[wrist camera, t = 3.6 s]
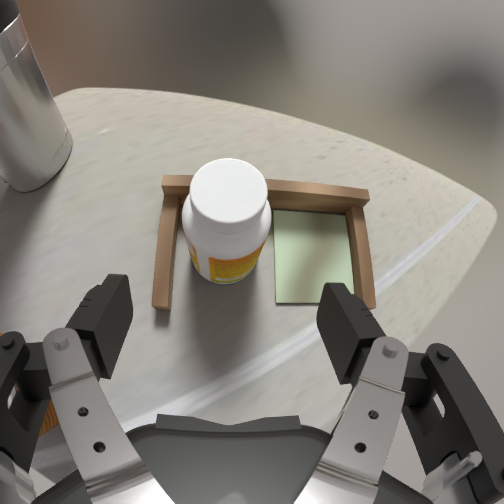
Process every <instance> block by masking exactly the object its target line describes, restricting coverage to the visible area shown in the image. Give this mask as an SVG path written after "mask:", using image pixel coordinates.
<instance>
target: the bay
mask: <svg viewBox="0 0 504 504" xmlns="http://www.w3.org/2000/svg"><path fill="white" fill-rule="evenodd" d="M193 177H194V175H163V180H162V185H161V186H162V189H163V193H164V200H163V206H162V213H161V220H160V227H159V235H158V243H157V252H156V261H155V271H154V281H153V293H152V306H153V307H154V308H155V309H164V310H171V298H172V283H173V270H174V258H175V247H176V237H177V228H178V219H179V210H180V204H184V202H185V200H186V198H187V196H188V195H189V193H190V184H191V181H192V179H193ZM265 181H266V184H267V189H268V195H267V200H268V202H269V205H270V208H277V209H292V210H305V211H318V212H330V213H342V214H345V216H344V215H332V214H320V213H307V212H293V211H278V210H273V224H274V256H275V297H276V303H320V299H321V295H322V291H323V287H324V284H325V283H327V282H338V283H344V284H345V285H346V287H347V288H348V290H349V291H350V293H351V294H355V295H356V296H358V297H359V298H360V299H362V300H363V301H364V303H365V304H366V306H367V307H368V310H371V309H374V308H376V300H375V289H374V280H373V271H372V263H371V255H370V248H369V241H368V235H367V229H366V223H365V217H364V211H363V207H364V206H365V205H366V204H367V202H368V201H369V200H370V197H369V192H368V190H366V189H358V188H351V187H343V186H335V185H326V184H317V183H307V182H297V181H285V180H273V179H265Z"/></svg>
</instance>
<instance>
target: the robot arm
mask: <svg viewBox="0 0 504 504" xmlns="http://www.w3.org/2000/svg"><path fill="white" fill-rule="evenodd" d="M71 148H72V136H71V134H70V132H69V130H68V128H67V126H66V124H65V122H64V120H63V118H62V116H61V114H60V112H59V110H58V108H57V106H56V103H55V101H54V99H53V97H52V95H51V93H50V91H49V88H48V86H47V84H46V82H45V79H44V77H43V75H42V72H41V70H40V68H39V65H38V63H37V60H36V58H35V55H34V53H33V50H32V48H31V45H30V42H29V39H28V37H27V34H26V31H25V29H24V26H23V23H22V20H21V16H20V14H19V10H18V7H17V4H16V1H15V0H0V178H1V179H2V180H3V181H4V182H5V183H9V184H10V185H11V186H12V187H13V188H14V189H16V190H17V191H20V192H29V191H32V190H35V189H37V188H39V187H41V186H42V185H44V184H45V183H47V182H48V181H49V180H50V179H51V178H52V177H54V176H55V175H56V174H57V172H58V171H59V170H60V169H61V168H62V166H63V165H64V163H65V162H66V160H67V158H68V156H69V154H70V151H71ZM132 318H133V305H132V299H131V293H130V286H129V280H128V276H127V275H122V274H108V276H107V277H106V279H105V280H104V282H103V283H102V285H96V286H95V287H94V288H92V289H91V290H89V291H88V293H87V294H86V295H85V297H84V298H83V301H82V302H81V303H80V305H79V307H78V308H77V309H76V311H75V312H74V314H73V315H72V317H71V319H70V320H69V322H68V323H67V325H66V327H65V328H59V329H56V330H53V331H51V332H50V333H49V334H48V335H47V336H46V337H45V338H44V340H43V342H37V343H26V341H25V339H24V337H23V335H22V334H21V333H19V332H15V331H12V332H7V333H5V334H3V335H1V336H0V504H494V503H496V502H498V501H499V500H501V499H502V498H504V433H503V431H502V429H501V427H500V425H499V423H498V422H497V419H496V418H495V416H494V414H493V412H492V411H491V409H490V407H489V405H488V404H487V402H486V400H485V399H484V397H483V395H482V394H481V392H480V391H479V389H478V387H477V386H476V384H475V382H474V381H473V379H472V378H471V376H470V375H469V373H468V372H467V370H466V369H465V367H464V366H463V364H462V363H461V361H460V360H459V358H458V357H457V355H456V354H455V353H454V351H453V350H452V349H451V348H449V347H448V346H446V345H443V344H440V343H434V344H431V345H430V346H429V347H428V348H427V350H426V352H425V354H424V353H415V352H408V349H407V347H406V346H405V345H404V344H403V343H402V342H401V341H399V340H397V339H395V338H392V337H387V336H386V335H385V333H384V332H383V330H382V329H381V327H380V325H379V324H378V322H377V321H376V319H375V318H374V317H373V315H372V313H371V312H370V310H368V307H367V306H366V304H365V303H364V301H363V300H362V299H360V298H359V297H358V296H356V295H355V294H351V293H350V291H349V290H348V288H347V287H346V285H345V284H344V283H338V282H327V283H325V284H324V287H323V291H322V295H321V299H320V303H319V307H318V311H317V319H316V320H317V327H318V330H319V332H320V335H321V337H322V340H323V342H324V345H325V347H326V350H327V352H328V355H329V357H330V360H331V362H332V365H333V367H334V370H335V373H336V375H337V378H338V380H339V383H340V385H341V384H349V383H351V385H352V389H351V391H350V393H349V395H348V397H347V399H346V402H345V404H344V406H343V408H342V410H341V412H340V414H339V416H338V418H337V420H336V422H335V424H334V426H333V428H332V429H331V431H330V433H327V432H325V431H323V430H320V429H317V428H314V427H311V426H306V425H301V424H300V420H299V416H298V415H297V416H284V417H266V418H261V419H257V420H253V421H249V422H244V423H240V424H235V425H222V424H218V423H214V422H210V421H206V420H202V419H198V418H194V417H187V416H174V415H164V414H157V420H156V423H154V424H148V425H143V426H140V427H137V428H134V429H132V430H130V431H128V432H126V433H125V432H124V431H123V429H122V427H121V425H120V424H119V422H118V420H117V418H116V417H115V415H114V413H113V411H112V409H111V407H110V405H109V403H108V401H107V399H106V397H105V395H104V393H103V391H102V389H101V387H100V385H99V380H100V378H105V379H111V376H112V373H113V371H114V368H115V365H116V362H117V359H118V356H119V354H120V351H121V348H122V345H123V343H124V340H125V337H126V335H127V332H128V330H129V327H130V324H131V322H132ZM14 385H15V387H16V388H17V391H16V393H15V396H14V398H13V400H12V403H11V405H10V407H9V409H8V399H9V396H10V394H11V392H12V390H13V387H14ZM436 394H438V396H439V398H440V399H441V401H442V403H443V405H444V408H445V414H444V417H442V415H441V414H440V411H439V409H438V407H437V405H436V403H435V401H434V399H433V398H434V397H435V395H436ZM50 399H52V401H53V405H54V408H55V411H56V414H57V417H58V420H59V423H60V426H61V428H62V431H63V434H64V436H65V439H66V442H67V444H68V447H69V449H70V451H71V454H72V456H73V458H74V461H75V463H76V465H77V467H78V469H77V470H75V471H74V472H73V473H71V474H70V475H68V476H67V477H66V478H64V479H63V480H61V481H60V482H59V483H57V484H56V485H54V486H53V487H51V488H50V489H49V490H47V491H46V492H44V493H43V494H41V495H40V496H38V497H37V498H36V492H35V490H34V487H33V482H32V479H31V477H30V475H29V469H30V465H31V461H32V457H33V453H34V450H35V446H36V443H37V439H38V436H39V432H40V429H41V426H42V423H43V420H44V417H45V414H46V411H47V408H48V405H49V402H50ZM401 412H402V414H403V416H404V419H405V421H406V424H407V426H408V429H409V431H410V434H411V436H412V438H413V441H414V444H415V446H416V449H417V452H418V454H419V457H420V460H421V463H422V465H423V468H424V471H425V474H426V478H425V480H424V484H423V489H422V491H421V493H419V492H417V491H416V490H414V489H412V488H410V487H409V486H407V485H405V484H404V483H402V482H401V481H399V480H397V479H396V478H394V477H392V476H391V475H389V474H388V473H386V472H384V471H383V467H384V464H385V462H386V459H387V456H388V453H389V450H390V447H391V444H392V441H393V438H394V435H395V431H396V428H397V424H398V421H399V417H400V414H401Z"/></svg>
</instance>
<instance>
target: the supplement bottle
mask: <svg viewBox="0 0 504 504" xmlns="http://www.w3.org/2000/svg"><path fill="white" fill-rule="evenodd" d="M267 195H268V189H267V184H266V181H265V179H264V177H263V176H262V174H261V173H260V172H259V171H258V170H257V169H256V168H255V167H254V166H252V165H251V164H249V163H247V162H244V161H242V160H238V159H231V158H225V159H218V160H215V161H212V162H209V163H207V164H206V165H204V166H203V167H201V168H200V169H199V170H198V171H197V172H196V174H195V175H194V177H193V179H192V181H191V184H190V193H189V195H188V196H187V198H186V200H185V202H184V206H183V210H182V224H183V230H184V233H185V237H186V241H187V245H188V249H189V252H190V256H191V260H192V262H193V265H194V267H195V268H196V270H197V271H198V272H199V274H200V275H202V276H203V277H204V278H205V279H207V280H209V281H211V282H214V283H218V284H231V283H235V282H238V281H240V280H242V279H243V278H245V277H246V276H247V275H248V274H249V273H250V272H251V271H252V270H253V268H254V266H255V265H256V262H257V260H258V258H259V255H260V253H261V250H262V248H263V245H264V243H265V240H266V238H267V235H268V233H269V230H270V225H271V208H270V205H269V202H268V200H267Z"/></svg>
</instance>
